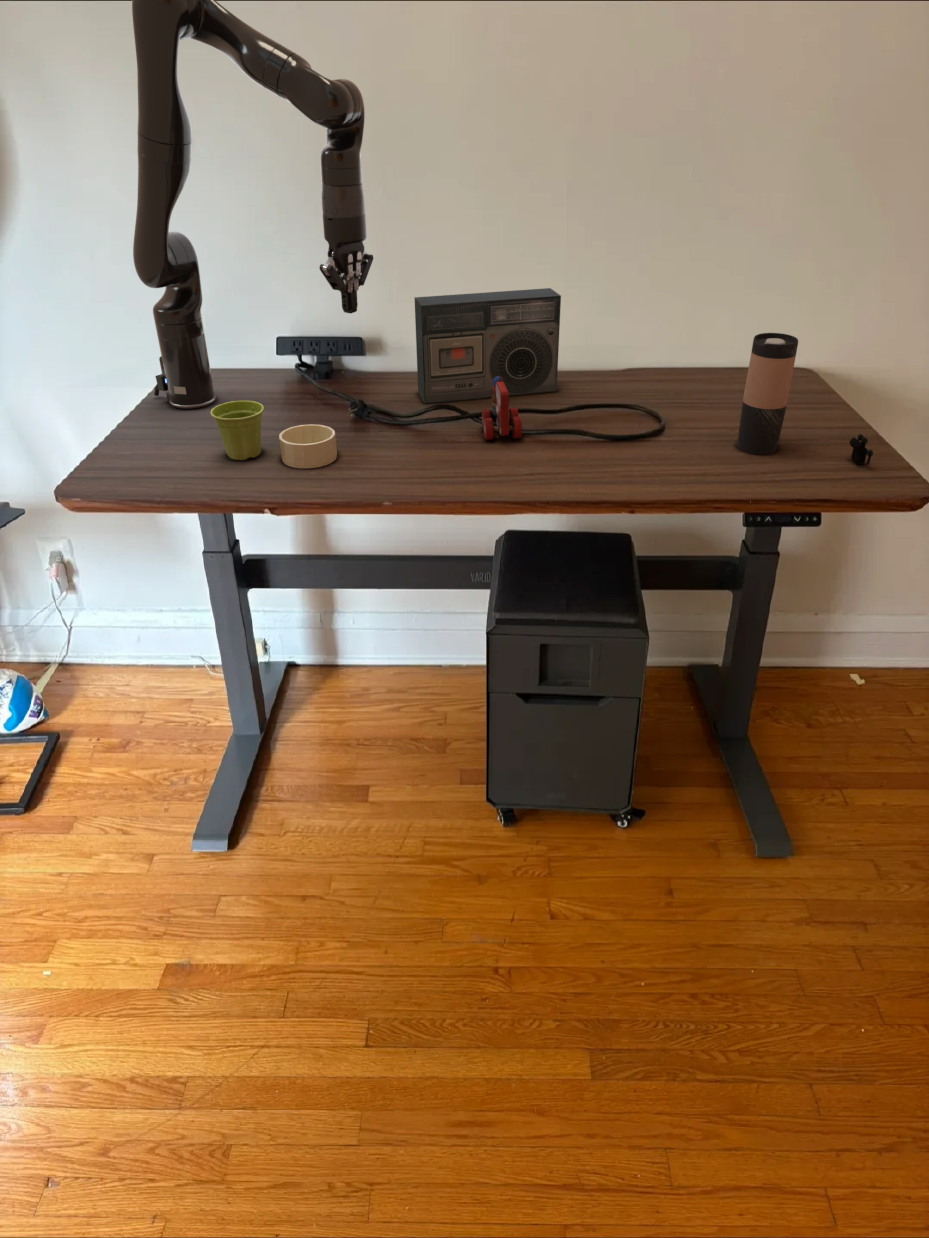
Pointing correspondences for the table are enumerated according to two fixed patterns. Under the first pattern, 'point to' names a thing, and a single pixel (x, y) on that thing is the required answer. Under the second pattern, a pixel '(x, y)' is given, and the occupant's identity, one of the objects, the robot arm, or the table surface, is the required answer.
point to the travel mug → (766, 392)
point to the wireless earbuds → (860, 450)
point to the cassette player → (487, 343)
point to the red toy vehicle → (501, 414)
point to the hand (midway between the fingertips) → (350, 312)
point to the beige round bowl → (308, 446)
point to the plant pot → (240, 428)
